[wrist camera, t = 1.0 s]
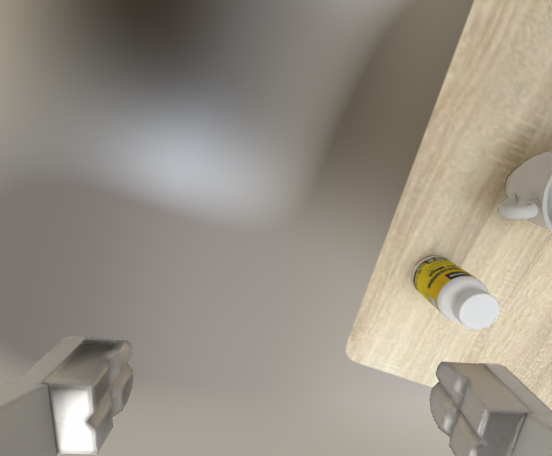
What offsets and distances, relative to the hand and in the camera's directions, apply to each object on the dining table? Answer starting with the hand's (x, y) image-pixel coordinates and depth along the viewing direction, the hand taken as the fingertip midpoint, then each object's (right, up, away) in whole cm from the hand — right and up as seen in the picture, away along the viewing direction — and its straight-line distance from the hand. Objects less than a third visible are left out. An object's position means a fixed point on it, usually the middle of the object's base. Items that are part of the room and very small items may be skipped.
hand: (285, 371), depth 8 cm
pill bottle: (+23, -3, +38) cm, 44 cm away
